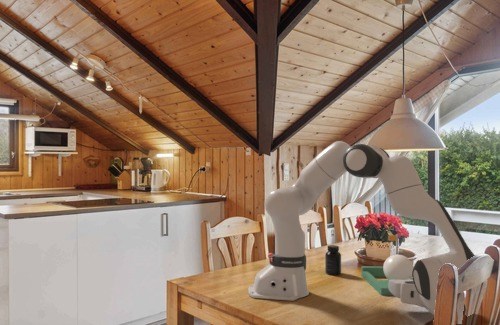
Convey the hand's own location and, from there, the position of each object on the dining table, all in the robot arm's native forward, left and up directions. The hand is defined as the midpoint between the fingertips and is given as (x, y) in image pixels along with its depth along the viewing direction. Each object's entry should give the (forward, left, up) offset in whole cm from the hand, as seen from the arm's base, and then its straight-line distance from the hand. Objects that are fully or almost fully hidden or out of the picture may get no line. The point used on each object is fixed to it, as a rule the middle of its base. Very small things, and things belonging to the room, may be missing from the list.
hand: (411, 280), depth 143 cm
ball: (0, +13, +1) cm, 13 cm away
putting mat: (0, +20, -7) cm, 21 cm away
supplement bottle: (-20, +36, -8) cm, 42 cm away
